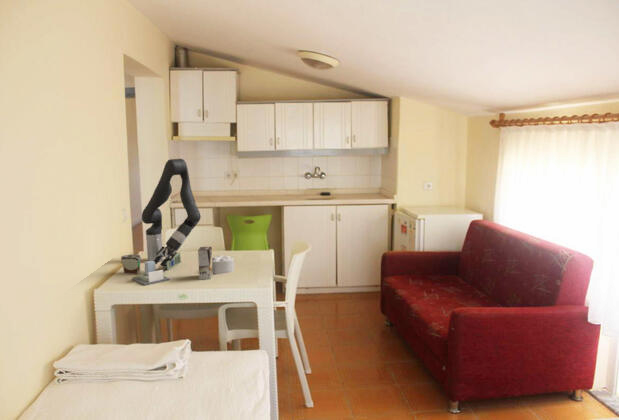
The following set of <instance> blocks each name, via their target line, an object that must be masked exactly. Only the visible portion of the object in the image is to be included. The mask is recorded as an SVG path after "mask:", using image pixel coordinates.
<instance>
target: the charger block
mask: <svg viewBox="0 0 619 420" xmlns="http://www.w3.org/2000/svg"><path fill="white" fill-rule="evenodd" d="M153 271H157V270H156V264H155V262H154V261H148V260H147V261H144V274H145V276H147V277H148V272H153Z"/></svg>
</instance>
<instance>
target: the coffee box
mask: <svg viewBox="0 0 619 420" xmlns="http://www.w3.org/2000/svg"><path fill="white" fill-rule="evenodd" d="M212 249H213V248H212V246H200V247H199V248H198V250H197V256H198V257H197V259H198V260H197V261H198V279H199V280H211V279H212V277H213V275H214V274H213V268H212V258H213V251H212Z"/></svg>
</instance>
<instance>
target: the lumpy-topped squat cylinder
mask: <svg viewBox="0 0 619 420" xmlns="http://www.w3.org/2000/svg"><path fill="white" fill-rule="evenodd" d="M212 268H213V275H221V274H229V273H232V272H234V271H235V259H234V257H232V256H229V255H218V256H212Z"/></svg>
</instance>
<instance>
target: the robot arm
mask: <svg viewBox="0 0 619 420" xmlns="http://www.w3.org/2000/svg"><path fill="white" fill-rule="evenodd" d="M174 176H180V178H181V187H180V191H179V196H180V199H181V204H182V206H183V208H184V209H185V213H186V215H187V216H186V218H185V219H184V221H183V223H181V224H179V226H178V228H176V230H175V231H174V232H173V233H172V235H170V237H169V238H168V240H167V241H166V243H165V245H166V246H163V239H162V229H163V215H162V211H161V209H160V207H161V206H163V205H165V203H166V202H167V201H169V198H170V197H171V195H172V192H173V191H172V190H173V189H172V185H171V180H172V178H173V177H174ZM190 180H191V179H190V174H189V170H188V165H187V162H186V160H184V159H182V158H172V159H170V158H169V160H167V161H166V162H165V164H164V167H163V170H162V173H161V176H160V178H159V181H158V184H157V185H156V187H155V189H154V190H153V193H152V195H151V197H150V199H149V201H148V203H147V204H146V205H145V207H144V209H143V211H142V213H141V221H142V222H143V223H144V224H146V225H151V226H150V227H148V228H147V229H145V237H146V239H145V241H146V253H147V261H154V262H155V265H157V264H158V263H159V262H160V267H162V268H164V266H165V264H166V263H167V262H168V261H171V260H172V259H173V257H174V256H175V254H176V253H178V252H177V251H179V249H180V248H181V246H183V244H184V242H185V241H186V240H187V238H188V236H189V235H190V234H191V233H192V230H193V229H194V228H195V227H196V226H197V225H198V223H199V222H200V220H201V217H202V216H201V213H200V210H199V208H198V206H197V203H196V200H195V197H194V194H193V191H192V187H191V181H190Z"/></svg>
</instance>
